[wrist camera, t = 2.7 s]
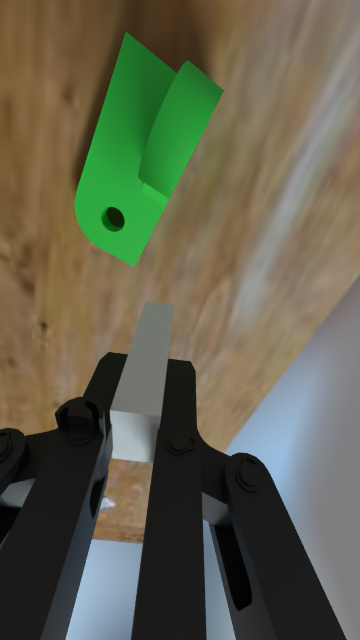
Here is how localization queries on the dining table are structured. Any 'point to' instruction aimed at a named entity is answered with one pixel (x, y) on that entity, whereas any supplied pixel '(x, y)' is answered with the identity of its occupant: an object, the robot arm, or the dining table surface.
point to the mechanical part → (141, 147)
